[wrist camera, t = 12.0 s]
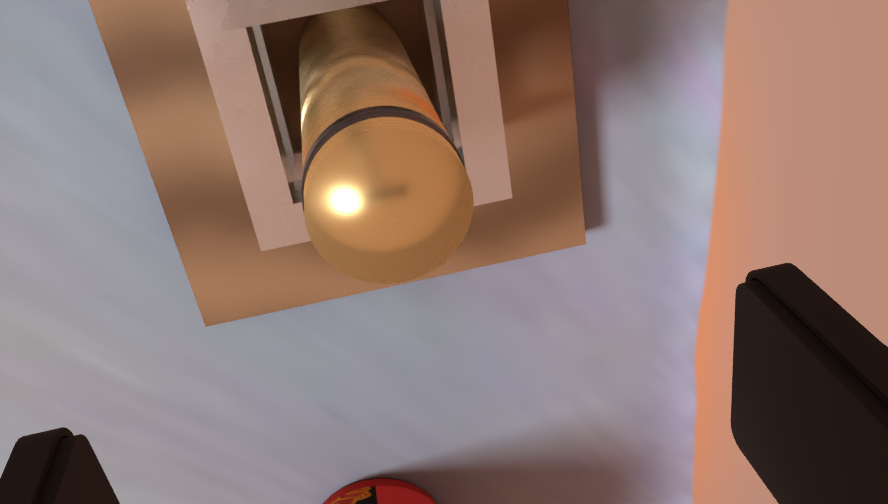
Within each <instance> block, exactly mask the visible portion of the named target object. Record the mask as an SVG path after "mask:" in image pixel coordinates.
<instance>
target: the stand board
mask: <svg viewBox="0 0 888 504" xmlns="http://www.w3.org/2000/svg"><path fill="white" fill-rule="evenodd" d="M88 1H89V3H90V6H91V9H92V12H93V14H94V17H95V20H96V23H97V26H98V28H99V31H100V34H101V37H102V40H103V42H104V45H105V48H106V51H107V53H108V56H109V59H110V62H111V65H112V67H113V70H114V73H115V76H116V78H117V81H118V84H119V87H120V90H121V92H122V95H123V98H124V101H125V104H126V106H127V109H128V112H129V115H130V117H131V120H132V123H133V126H134V129H135V131H136V134H137V137H138V140H139V143H140V145H141V148H142V151H143V154H144V156H145V159H146V162H147V165H148V168H149V170H150V173H151V176H152V179H153V182H154V184H155V187H156V190H157V193H158V195H159V198H160V201H161V204H162V207H163V209H164V212H165V215H166V218H167V220H168V223H169V226H170V229H171V232H172V234H173V237H174V240H175V243H176V246H177V248H178V251H179V254H180V257H181V259H182V262H183V265H184V268H185V271H186V273H187V276H188V279H189V282H190V285H191V287H192V290H193V293H194V296H195V298H196V301H197V304H198V307H199V310H200V312H201V315H202V318H203V321H204V324H205V326H211V325H216V324H220V323H225V322H229V321H234V320H239V319H243V318H248V317H252V316H257V315H262V314H266V313H271V312H275V311H280V310H285V309H289V308H294V307H298V306H303V305H308V304H312V303H317V302H321V301H326V300H331V299H335V298H340V297H344V296H349V295H354V294H358V293H363V292H367V291H372V290H376V289H381V288H386V287H390V286H395V285H399V284H404V283H409V282H413V281H418V280H422V279H427V278H432V277H436V276H441V275H445V274H450V273H455V272H459V271H464V270H468V269H473V268H478V267H482V266H487V265H491V264H496V263H501V262H505V261H510V260H514V259H519V258H524V257H528V256H533V255H537V254H542V253H547V252H551V251H556V250H560V249H565V248H570V247H574V246H579V245H583V244H586V238H585V225H584V212H583V198H582V185H581V172H580V159H579V145H578V132H577V119H576V106H575V92H574V79H573V66H572V53H571V40H570V26H569V13H568V0H488V2H489V10H490V18H491V26H492V35H493V43H494V51H495V59H496V67H497V75H498V84H499V92H500V100H501V108H502V116H503V124H504V133H505V141H506V149H507V157H508V165H509V173H510V182H511V190H512V198H511V199H506V200H501V201H497V202H492V203H487V204H483V205H478V206H473V215H472V219H471V223H470V226H469V229H468V232H467V234H466V236H465V238H464V240H463V241H462V243H461V244H460V246H459V247H458V249H457V250H456V251H455V252H454V253H453V255H452V256H451V257H450V258H449V259H448V260H446V261H445V262H444V263H443V264H442V265H440V266H439V267H437V268H436V269H435V270H433V271H431V272H429V273H427V274H425V275H423V276H421V277H418V278H416V279H412V280H409V281H405V282H399V283H389V284H381V283H371V282H365V281H361V280H358V279H355V278H352V277H350V276H348V275H346V274H343V273H342V272H340V271H339V270H337V269H335V268H334V267H333V266H332V265H330V264H329V263H328V262H327V261H326V260H325V259H324V258H323V257H322V256H321V255H320V254H319V252H318V251H317V249H316V248H315V247H314V245H313V243H312V241H308V242H303V243H298V244H294V245H289V246H284V247H280V248H275V249H270V250H265V251H261V250H260V246H259V243H258V240H257V236H256V233H255V230H254V226H253V223H252V220H251V216H250V213H249V210H248V206H247V203H246V200H245V197H244V193H243V190H242V187H241V183H240V180H239V177H238V173H237V170H236V167H235V163H234V160H233V157H232V153H231V150H230V147H229V144H228V140H227V137H226V134H225V130H224V127H223V124H222V120H221V117H220V114H219V110H218V107H217V104H216V100H215V97H214V94H213V91H212V87H211V84H210V81H209V77H208V74H207V71H206V67H205V64H204V61H203V57H202V54H201V51H200V47H199V44H198V41H197V38H196V34H195V31H194V28H193V24H192V21H191V18H190V14H189V11H188V8H187V4H186V1H185V0H88ZM369 5H371V6H373V7H374V8H376V9H378V10H379V11H380V12H381V13H383V14H384V15H385V16H386V17H387V18H388V20H389V21H390V23H391V24H392V26H393V28H394V29H395V31H396V33H397V35H398V37H399V39H400V41H401V43H402V45H403V47H404V49H405V51H406V53H407V55H408V57H409V59H410V61H411V63H412V65H413V67H414V69H415V71H416V73H417V75H418V77H419V79H420V81H421V83H422V85H423V87H424V89H425V91H426V93H427V95H428V97H429V99H430V101H431V103H432V105H433V107H434V108H435V103H434V97H433V91H432V85H431V79H430V73H429V67H428V61H427V55H426V48H425V42H424V36H423V30H422V24H421V18H420V12H419V6H418V0H387V1H382V2H376V3H371V4H369ZM311 16H312V15H309V16H303V17H298V18H293V19H288V20H282V21H277V22H272V23H267V24H264V25H265V29H266V32H267V36H268V40H269V44H270V48H271V52H272V56H273V59H274V63H275V67H276V71H277V75H278V79H279V83H280V87H281V90H282V94H283V98H284V102H285V106H286V110H287V114H288V117H289V121H290V125H291V129H292V133H293V137H295V136H300V135H301V109H300V81H299V53H298V47H299V39H300V35H301V33H302V30H303V28H304V26H305V24H306V23H307V21H308V20H309V18H310V17H311Z"/></svg>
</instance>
